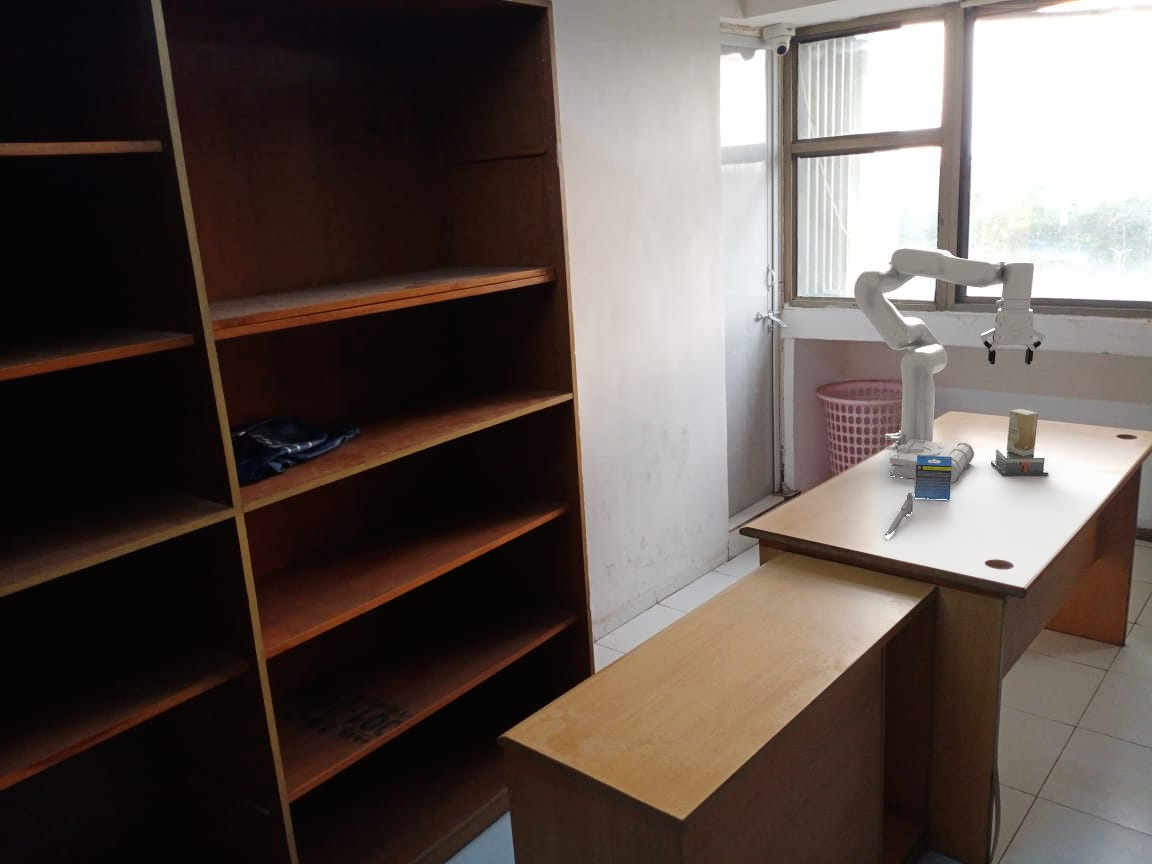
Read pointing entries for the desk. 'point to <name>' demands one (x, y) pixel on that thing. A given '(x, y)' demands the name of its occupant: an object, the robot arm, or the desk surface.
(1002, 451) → the grey piece
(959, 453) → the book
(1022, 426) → the skincare box
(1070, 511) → the desk surface
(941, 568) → the desk surface
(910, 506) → the caliper
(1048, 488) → the desk surface
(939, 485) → the label tape box
